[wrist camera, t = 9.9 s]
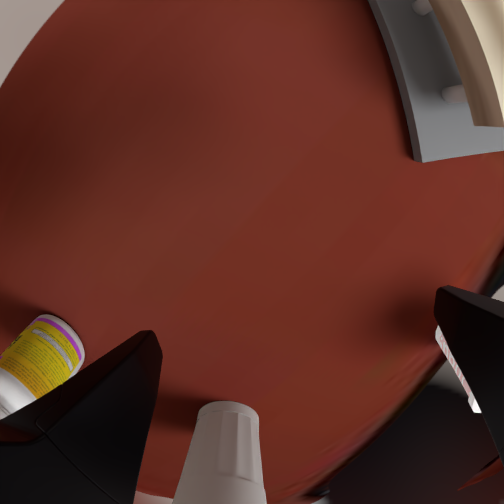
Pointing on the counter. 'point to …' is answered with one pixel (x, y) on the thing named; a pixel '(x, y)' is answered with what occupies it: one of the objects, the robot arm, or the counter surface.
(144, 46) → the counter surface
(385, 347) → the counter surface
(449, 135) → the peg stand
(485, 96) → the shelf board
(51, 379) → the supplement bottle
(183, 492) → the cup
